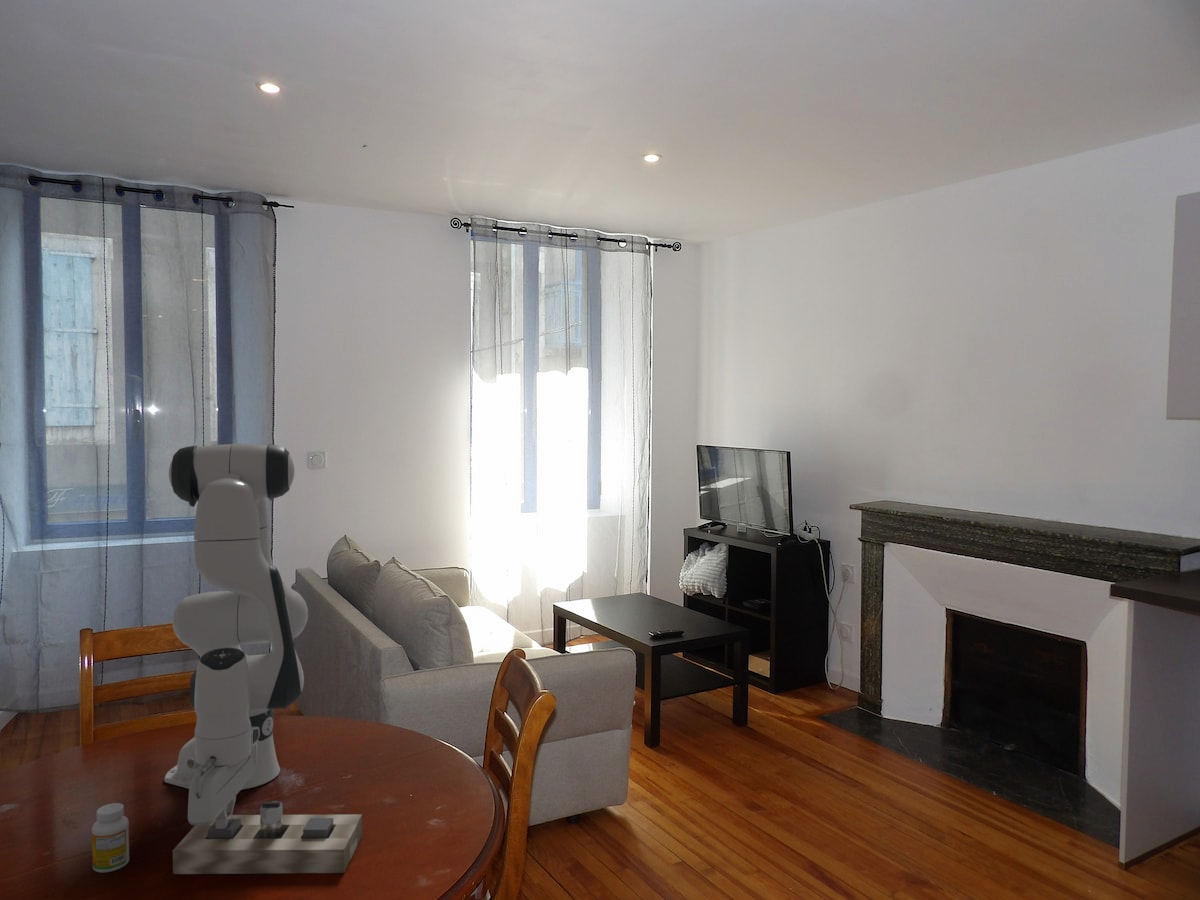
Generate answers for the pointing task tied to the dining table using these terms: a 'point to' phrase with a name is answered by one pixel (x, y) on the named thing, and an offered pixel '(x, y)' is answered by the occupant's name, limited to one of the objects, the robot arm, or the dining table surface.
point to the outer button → (318, 828)
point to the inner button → (225, 830)
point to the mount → (269, 848)
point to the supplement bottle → (110, 839)
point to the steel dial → (271, 820)
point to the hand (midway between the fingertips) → (224, 825)
